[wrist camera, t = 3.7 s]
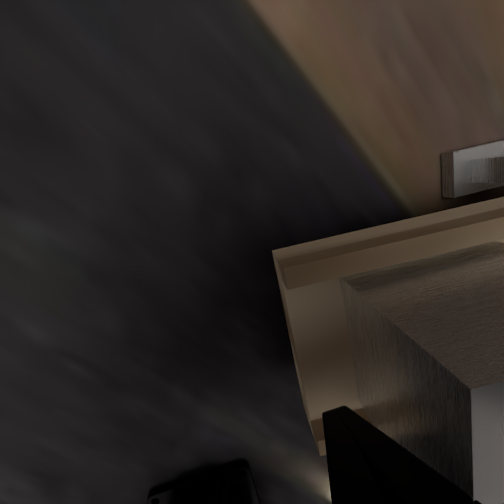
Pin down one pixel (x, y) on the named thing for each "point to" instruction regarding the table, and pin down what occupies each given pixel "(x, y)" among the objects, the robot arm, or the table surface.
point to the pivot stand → (472, 169)
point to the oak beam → (331, 300)
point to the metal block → (435, 360)
